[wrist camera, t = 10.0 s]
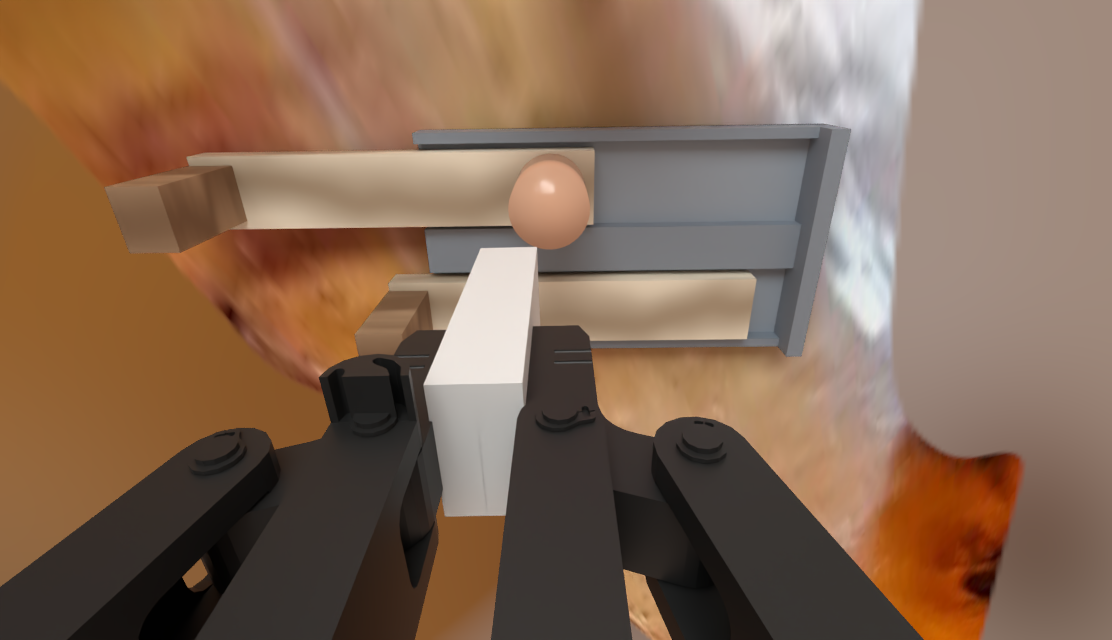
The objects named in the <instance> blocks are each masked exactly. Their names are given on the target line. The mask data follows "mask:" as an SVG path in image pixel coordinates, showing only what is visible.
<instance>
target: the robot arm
mask: <svg viewBox="0 0 1112 640" xmlns="http://www.w3.org/2000/svg"><path fill="white" fill-rule="evenodd" d="M319 380H320V383H321V387H322V391H323V395H324V398H325V401H326V406H327V409H328V413H329V417H330V421H331V424H330V425H329V427H328V429H327V430H326V432H325V433H324V435H323V437H322V438H321V439H318V440H315V441H311V442H307V443H303V444H299V445H294V446H289V447H285V448H281V449H276V450H274V447H273V445H272V442H271V439H270V438H269V437H268V435H267V433H266V432H263V431H260V430H258V429H255V428H236V429H229V430H224V431H220V432H216V433H214V434H213V435H210V436H207V437H205V438H203V439H200V440H198V441H196V442H195V443H193V444H191V445H190V446H188V447H186V448H185V449H183V450H182V451H180V452H179V453H178V454H176V455H175V456H174V457H172V458H171V459H170V460H168V461H167V462H166V463H164V464H163V465H162V466H160V467H159V468H158V469H156V470H155V471H154V472H152V473H151V474H150V475H148V476H147V477H146V478H144V479H143V480H142V481H140V482H139V483H138V484H136V485H135V486H134V487H132V488H131V489H130V490H128V491H127V492H126V493H124V494H123V495H122V496H120V497H119V498H118V499H116V500H115V501H114V502H113V503H111V504H110V505H109V506H107V507H106V508H105V509H103V510H102V511H101V512H99V513H98V514H97V515H95V516H94V517H93V518H91V519H90V520H89V521H87V522H86V523H85V524H83V525H82V526H81V527H79V528H78V529H77V530H75V531H74V532H73V533H71V534H70V535H69V536H67V537H66V538H65V539H63V540H62V541H61V542H59V543H58V544H57V545H55V546H54V547H53V548H52V549H50V550H49V551H47V552H46V553H45V554H43V555H42V556H41V557H39V558H38V559H37V560H35V561H34V562H33V563H31V564H30V565H29V566H28V567H26V568H25V569H23V570H22V571H21V572H20V573H18V574H17V575H16V576H14V577H13V578H12V579H10V580H9V581H8V582H6V583H5V584H4V585H2V586H1V587H0V640H415V636H416V632H417V628H418V624H419V620H420V615H421V612H422V608H423V603H424V599H425V595H426V591H427V587H428V583H429V579H430V575H431V571H432V566H433V563H434V558H435V554H436V550H437V546H438V526H437V520H436V513H437V509H438V506H439V502H440V498H441V496H442V502H443V507H444V514H445V516H498V515H500V516H501V515H506V516H505V525H504V533H503V543H502V551H501V559H500V567H499V576H498V585H497V593H496V602H495V611H494V619H493V628H492V636H491V640H632V634H631V626H630V618H629V611H628V603H627V595H626V588H625V580H624V572H623V569H625V570H628V571H632V572H635V573H639V574H642V575H645V577H646V581H647V584H648V587H649V589H650V591H651V593H652V596H653V598H654V600H655V602H656V605H657V607H658V609H659V611H660V614H661V616H662V618H663V620H664V623H665V625H666V627H667V629H668V632H669V634H670V636H671V638H672V640H924V639H923V638H922V637H921V636H920V635H919V634H918V633H917V632H916V630H915V629H914V628H913V627H912V626H911V625H910V624H909V623H908V621H907V620H906V619H905V618H904V617H903V616H902V615H901V614H900V612H899V611H898V610H897V609H896V608H895V607H894V606H893V605H892V603H891V602H890V601H889V600H888V599H887V598H886V597H885V596H884V594H883V593H882V592H881V591H880V590H879V589H878V588H877V587H876V585H875V584H874V583H873V582H872V581H871V580H870V579H869V578H868V576H867V575H866V574H865V573H864V572H863V571H862V570H861V569H860V567H859V566H858V565H857V564H856V563H855V562H854V561H853V560H852V558H851V557H850V556H849V555H848V554H847V553H846V552H845V551H844V549H843V548H842V547H841V546H840V545H839V544H838V543H837V542H836V540H835V539H834V538H833V537H832V536H831V535H830V534H829V533H828V531H827V530H826V529H825V528H824V527H823V526H822V525H821V524H820V522H819V521H818V520H817V519H816V518H815V517H814V516H813V515H812V513H811V512H810V511H809V510H808V509H807V508H806V507H805V506H804V505H803V503H802V502H801V501H800V500H799V499H798V498H797V497H796V496H795V494H794V493H793V492H792V491H791V490H790V489H789V488H788V487H787V485H786V484H785V483H784V482H783V481H782V480H781V479H780V478H779V476H778V475H777V474H776V473H775V472H774V471H773V470H772V469H771V467H770V466H769V465H768V464H767V463H766V462H765V461H764V460H763V458H762V457H761V456H760V455H759V454H758V453H757V452H756V451H755V449H754V448H753V447H752V446H751V445H750V444H749V443H748V442H747V440H746V439H745V438H744V437H743V436H741V435H740V434H739V433H738V432H736V431H735V430H734V429H733V428H732V427H729V426H727V425H725V424H723V423H720V422H718V421H716V420H711V419H706V418H701V417H683V418H678V419H675V420H672V421H669V422H666V423H665V424H664V425H663V426H661V427H660V428H659V429H658V430H657V431H656V434H655V437H651V436H646V435H642V434H637V433H633V432H630V431H626V430H624V429H622V428H619V427H617V426H615V425H614V424H612V423H611V422H610V421H608V420H607V419H606V418H605V417H604V416H603V414H602V413H601V411H600V409H599V406H598V402H597V394H596V386H595V378H594V370H593V363H592V353H591V345H590V337H589V335H588V334H587V333H586V332H585V331H584V330H583V329H582V328H581V327H580V326H579V325H566V326H540V307H539V283H538V260H537V247H510V248H481V249H480V251H479V253H478V256H477V258H476V261H475V263H474V265H473V268H472V270H471V273H470V275H469V277H468V280H467V282H466V284H465V287H464V289H463V292H462V294H461V296H460V299H459V301H458V304H457V306H456V308H455V311H454V313H453V316H452V318H451V320H450V323H449V325H448V327H447V330H417V331H415V332H414V333H413V334H411V335H410V336H408V337H407V338H406V339H404V340H403V341H402V342H401V343H400V345H399V346H398V348H397V350H396V352H395V353H394V355H387V354H371V355H363V356H358V357H355V358H351V359H348V360H344V361H342V362H340V363H338V364H336V365H334V366H332V367H330V368H329V369H328V370H326V371H325V372H324V373H323V374H322V375H321V376H320V377H319ZM200 558H201V560H202V562H203V564H204V566H205V569H206V570H207V573H208V575H207V576H206V577H205V578H204V579H203V580H201V581H200V582H199V583H197V584H196V585H195V586H193V587H192V588H188V587H187V586H186V584H185V582H184V580H183V578H182V576H183V575H184V574H185V573H186V572H187V571H188V570H189V569H190V568H191V567H192V566H193V565H194V564H195V563H196V562H197V561H198V560H199V559H200Z"/></svg>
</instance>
